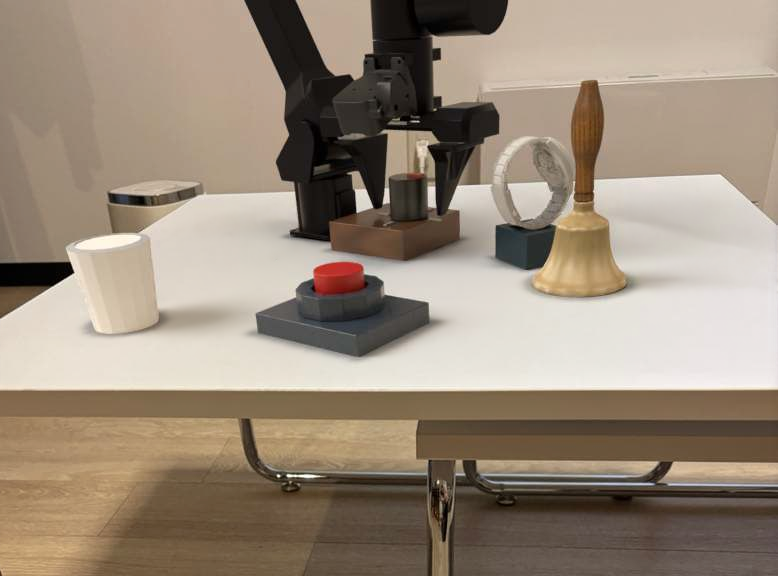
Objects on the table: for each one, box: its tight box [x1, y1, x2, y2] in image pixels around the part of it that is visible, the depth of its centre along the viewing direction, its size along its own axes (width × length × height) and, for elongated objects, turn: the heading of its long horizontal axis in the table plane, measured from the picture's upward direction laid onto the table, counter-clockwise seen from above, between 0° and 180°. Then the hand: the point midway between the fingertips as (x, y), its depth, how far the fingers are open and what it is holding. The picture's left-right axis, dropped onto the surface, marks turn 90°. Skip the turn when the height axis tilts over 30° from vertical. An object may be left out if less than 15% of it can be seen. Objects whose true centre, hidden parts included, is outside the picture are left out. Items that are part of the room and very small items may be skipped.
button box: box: [254, 273, 430, 358], centre depth 67 cm, size 11×9×4 cm
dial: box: [388, 172, 429, 221], centre depth 86 cm, size 4×4×4 cm
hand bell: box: [531, 79, 628, 298], centre depth 69 cm, size 8×8×16 cm
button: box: [312, 261, 365, 294], centre depth 66 cm, size 4×4×2 cm
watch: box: [490, 135, 576, 271], centre depth 78 cm, size 6×8×11 cm
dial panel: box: [329, 202, 461, 262], centre depth 88 cm, size 11×10×3 cm
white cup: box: [65, 232, 160, 335], centre depth 71 cm, size 7×7×7 cm
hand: (409, 211), depth 87 cm, fingers open, 8 cm apart
